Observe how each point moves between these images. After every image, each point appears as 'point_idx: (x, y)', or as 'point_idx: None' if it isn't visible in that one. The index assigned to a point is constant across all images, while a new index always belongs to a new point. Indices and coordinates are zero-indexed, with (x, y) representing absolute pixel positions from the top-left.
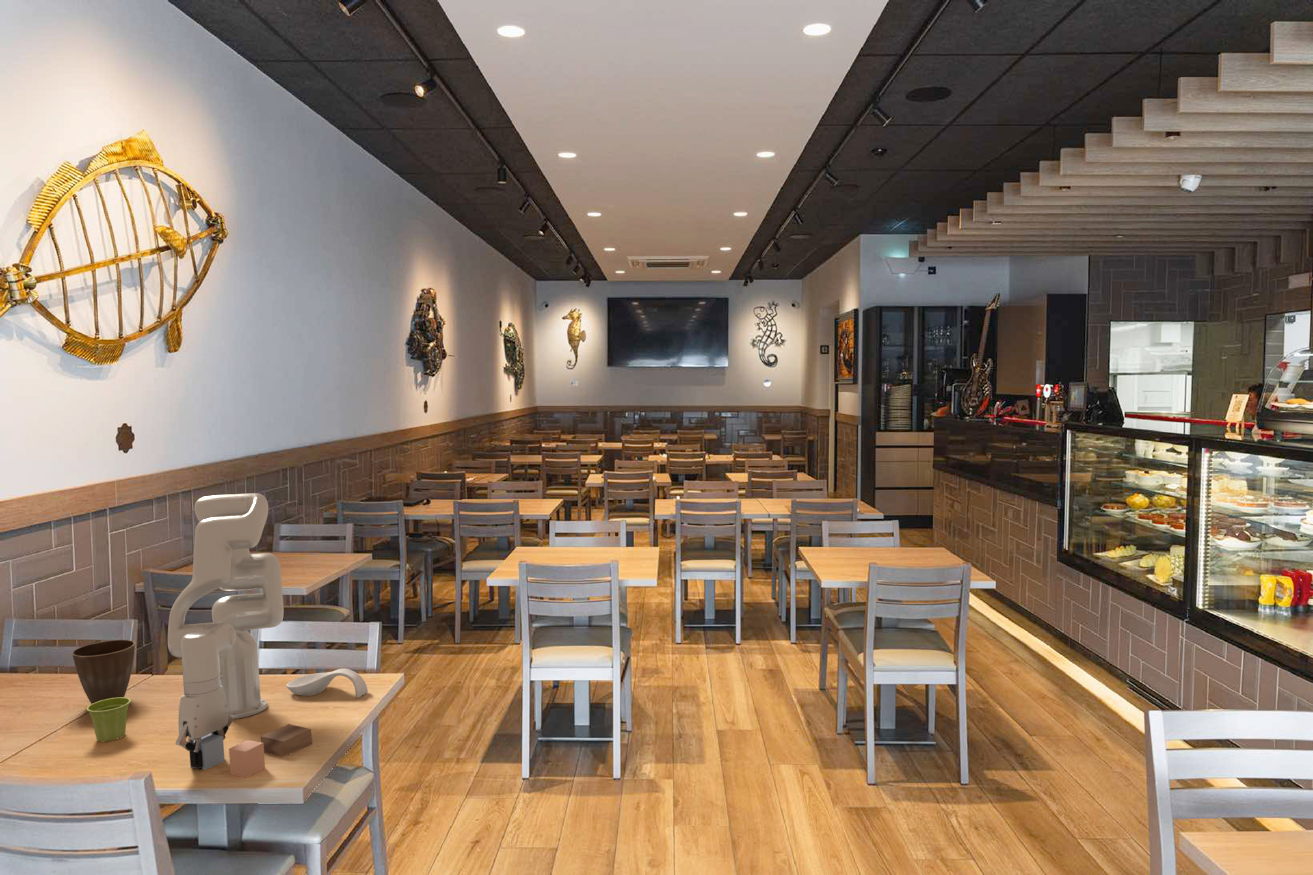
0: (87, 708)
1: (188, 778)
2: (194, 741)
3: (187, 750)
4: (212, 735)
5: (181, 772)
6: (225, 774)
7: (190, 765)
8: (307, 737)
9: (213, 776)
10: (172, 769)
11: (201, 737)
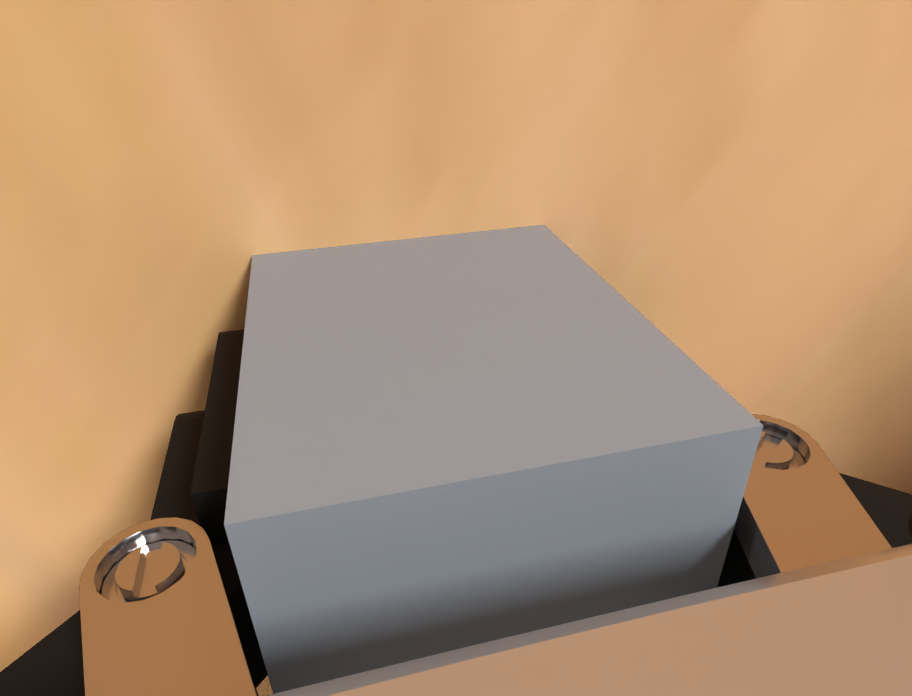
0: None
1: (50, 524)
2: (315, 595)
3: (105, 559)
4: (671, 595)
5: (75, 306)
6: None
7: (251, 265)
8: None
9: None
10: (28, 62)
11: (543, 518)
